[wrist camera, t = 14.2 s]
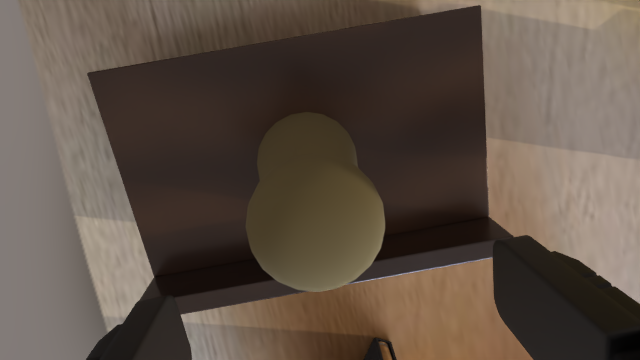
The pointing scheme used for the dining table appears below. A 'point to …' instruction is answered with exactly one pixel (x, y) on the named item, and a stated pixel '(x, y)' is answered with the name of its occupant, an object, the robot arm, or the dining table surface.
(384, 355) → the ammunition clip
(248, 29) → the dining table surface
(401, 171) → the shelf
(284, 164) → the cork
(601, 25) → the dining table surface
